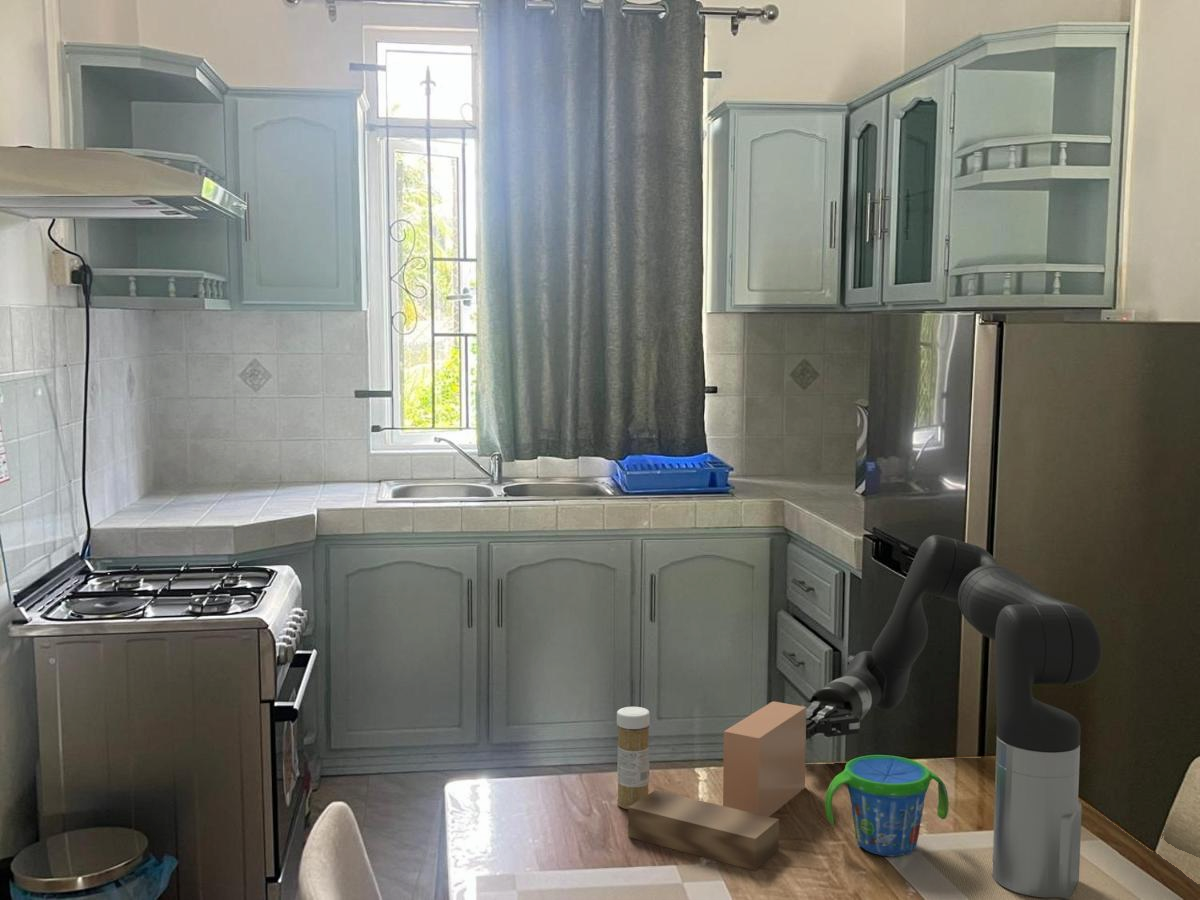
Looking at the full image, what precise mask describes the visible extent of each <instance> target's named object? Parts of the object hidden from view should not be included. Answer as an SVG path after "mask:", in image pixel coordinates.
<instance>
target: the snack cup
mask: <svg viewBox="0 0 1200 900" xmlns="http://www.w3.org/2000/svg"><path fill="white" fill-rule="evenodd" d="M844 766H845V767H844V770H842V771H841V772H839V773H838V774H837V775H834V778H833V779H832V780H831V782H830V783H829V786H828V788H827V790H826V795H825V800H824V810H825V815H826V818H827V820H828V822H829V823H830V825H832V826H833V825H835V819H834V811H833V810H834V809H833V807H834V806H833V803H832V802H833V797H834V794H835V793H836V792H837V791H838V790H839V788H841V786H842V785H844V784H846V787H847V790H848V794H849V798H850V799H849V800H850V804H851V815H852V819H853V820H852V821H853V828H854V829H853V830H854V835H855V839H856V843H857V845H858V846H859V847H860V848H863V849H864V850H866V851H867V852H870V853H872V854H874V855H878V856H882V857H886V856H887V857H898V856H902V855H910V854H912V852H913V851H914V850H915V848H916V847H917V845H918V840H919V836H920V835H919V834H920V830H921V823H922V819H923V811H924V806H925V799H926V795H927V791H928V789H929V787H930V784H931V783H930V782H931V781H932V780H934V781H936V782H937V793H938V794H937V796H938V797H937V798H938V799H937V800H938V804H937V809H936V810H937V813H936V814H937V816H938V817H939V818H940V819H941V820H945V819H947V817H948V814H949V809H950V808H949V795H948V789H947V787H946V785H945V783H944V782H943V780H942V779H941V778H940V777H939V776H938V775H937V774H936V773H935V772H934V771H932V770H930V769H928V768H927V766H925V765H923V764H922V763H921V762H919V761H916V760H913V759H910V758H908V757H907V758H906V757H901V756H896V755H890V754H889V755H888V754H887V755H886V754H871V755H870V754H869V755H864V756H858V757H856V758H853V759H850V760H849V761H848V762H846V764H845V765H844Z"/></svg>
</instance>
